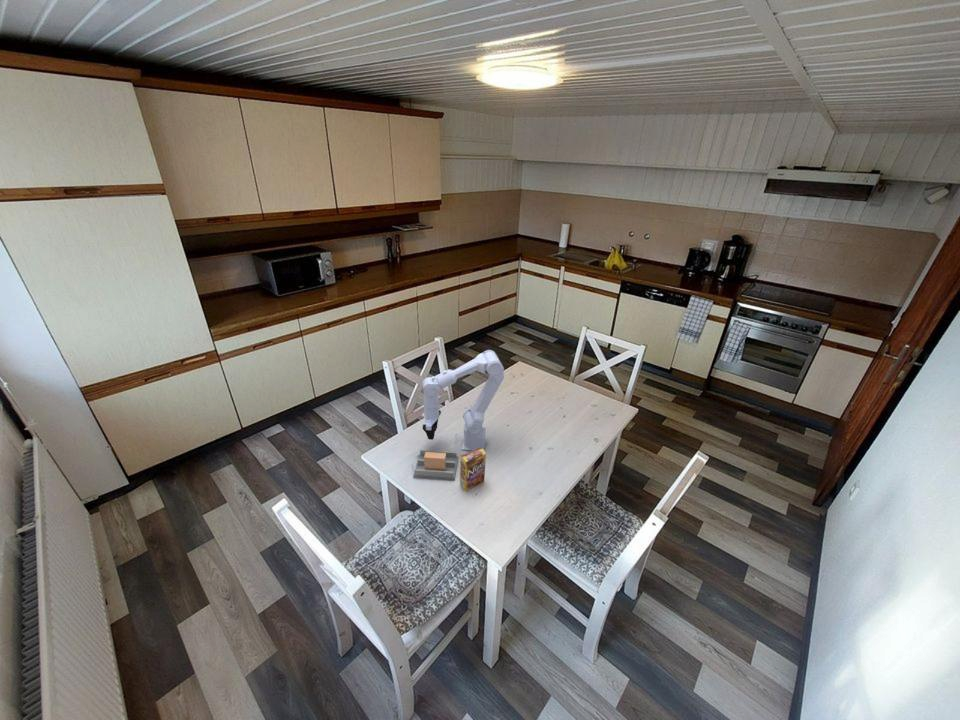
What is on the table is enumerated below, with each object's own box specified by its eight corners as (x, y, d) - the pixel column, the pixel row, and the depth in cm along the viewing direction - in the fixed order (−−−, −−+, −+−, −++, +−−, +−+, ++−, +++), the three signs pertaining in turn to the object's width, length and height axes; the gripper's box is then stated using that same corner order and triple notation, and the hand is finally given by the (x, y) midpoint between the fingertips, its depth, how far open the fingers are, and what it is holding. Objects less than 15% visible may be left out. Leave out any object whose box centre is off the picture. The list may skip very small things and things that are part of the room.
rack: (458, 458, 159) (458, 451, 158) (454, 480, 149) (454, 473, 147) (419, 455, 160) (419, 449, 158) (413, 477, 150) (412, 470, 148)
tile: (446, 468, 153) (446, 453, 149) (445, 474, 150) (444, 458, 146) (426, 467, 153) (425, 451, 149) (425, 472, 151) (424, 457, 147)
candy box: (465, 492, 144) (465, 462, 137) (459, 484, 147) (459, 454, 140) (485, 482, 148) (486, 452, 141) (479, 475, 151) (479, 445, 144)
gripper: (424, 394, 159) (426, 421, 165) (417, 416, 146) (419, 444, 153) (441, 395, 158) (442, 422, 165) (435, 417, 146) (437, 445, 152)
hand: (432, 432), depth 159 cm, fingers open, 7 cm apart
